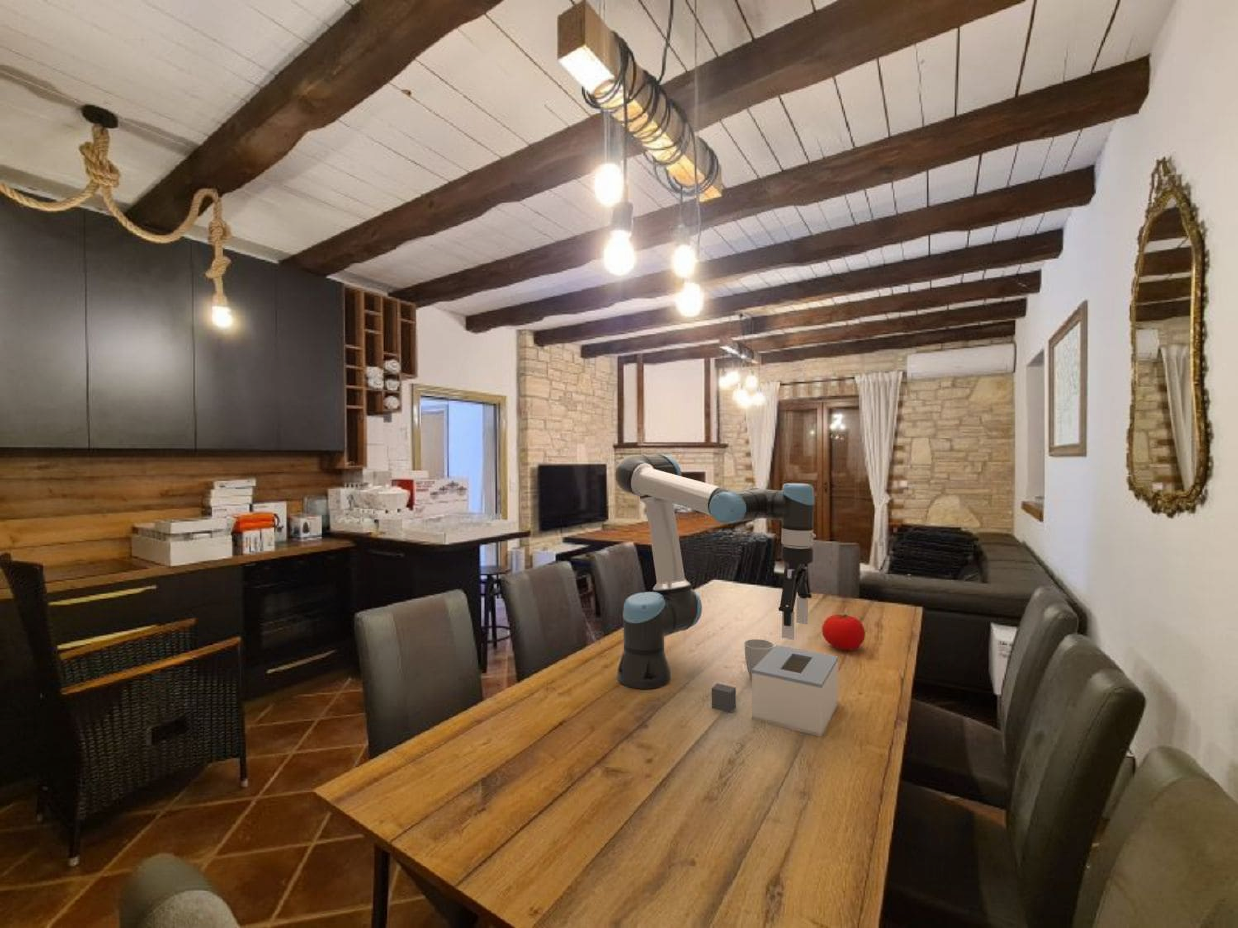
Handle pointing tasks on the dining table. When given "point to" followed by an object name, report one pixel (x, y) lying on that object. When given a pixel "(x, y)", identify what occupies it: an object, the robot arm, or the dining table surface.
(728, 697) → the block
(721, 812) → the dining table surface
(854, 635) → the tomato
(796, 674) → the box
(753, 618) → the dining table surface
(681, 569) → the robot arm
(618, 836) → the dining table surface
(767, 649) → the cup
